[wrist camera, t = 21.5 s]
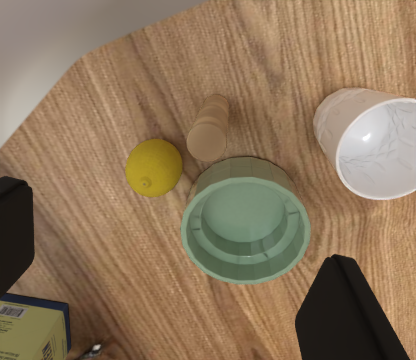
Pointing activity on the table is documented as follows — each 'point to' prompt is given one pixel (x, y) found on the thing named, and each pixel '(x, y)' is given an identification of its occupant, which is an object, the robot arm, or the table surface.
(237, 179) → the bowl
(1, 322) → the protein box
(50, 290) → the table surface
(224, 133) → the stick
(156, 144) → the lemon
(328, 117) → the white cup
